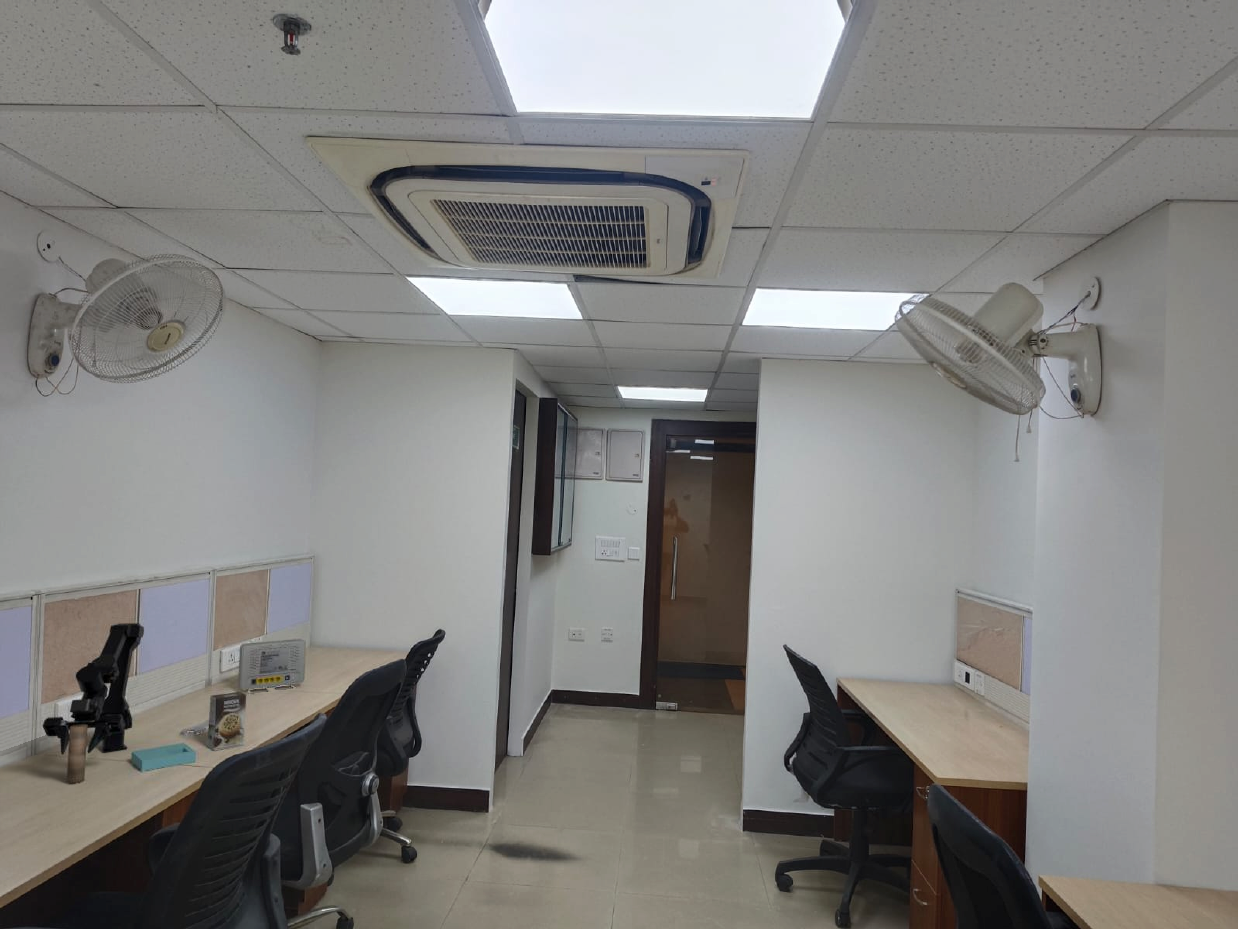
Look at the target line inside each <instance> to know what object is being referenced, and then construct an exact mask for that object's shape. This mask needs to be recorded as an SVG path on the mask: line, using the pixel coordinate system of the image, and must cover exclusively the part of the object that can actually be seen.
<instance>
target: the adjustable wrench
mask: <svg viewBox="0 0 1238 929" xmlns="http://www.w3.org/2000/svg"><path fill="white" fill-rule="evenodd" d="M207 726H209V719H208V720H206V721H204V722H202V723H200V724H197V725H195V726H191V727H187V728H183V729H182V730H181V735H182V734H183V735H182V736H186V735H187V734H188V733H187V731H194V734H197V733H201V732H203V733H205V732H204V731H206V732H207V728H208V727H207ZM205 727H207V728H205ZM186 733H187V734H186ZM201 734H202V733H201ZM197 735H198V734H197Z"/></svg>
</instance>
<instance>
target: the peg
mask: <svg viewBox="0 0 1238 929" xmlns="http://www.w3.org/2000/svg"><path fill="white" fill-rule="evenodd" d="M87 727H88V725H87V724H78V725H73V726H70V729H69V734H70V736H69V742H68V751H67V752H68V754H67V755H68V756H67V770H66V784H67V783H68V784H67V785H77V784H76V783H78V784H81V783H80V782H82V781H85V774H86V756H87V741H88V738H87V737H88V728H87ZM82 783H83V782H82Z"/></svg>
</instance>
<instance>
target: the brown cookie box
mask: <svg viewBox="0 0 1238 929" xmlns="http://www.w3.org/2000/svg"><path fill="white" fill-rule="evenodd" d="M209 699H210V700H209V717H208V720H209V727H207V743H206V745H207V746H206V747H207V748H209V749H211V750H212V751H221V750H225V749H231V748H236V747H241V746H242V747H243V746H244V741H245V725H246V724H245V723H246V704H247V703H246V702H247V694H245V693H243V692H239V691H237V692H228V693H222V694H214V695H210V698H209Z"/></svg>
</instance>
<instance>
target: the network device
mask: <svg viewBox="0 0 1238 929" xmlns="http://www.w3.org/2000/svg"><path fill="white" fill-rule="evenodd" d="M306 653H307V642H306V640H304V639H301V638H297V639H296V638H295V639H283V640H272V641H270V640H269V641H260V642H259V641H258V642H246V643H245V642H244V643H242V644H241V645H240V647H239V658H238V659H239V660H238V675H237V677H238V678H237V685H238V688H239V689H241V690H245V691H247V690H248V689H254V688H263V687H267V688H276V686H280V685H295V684H296V685H297V684H303V683H304V682H305V677H306V676H305V675H306V657H307V654H306ZM276 689H277V688H276Z"/></svg>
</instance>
